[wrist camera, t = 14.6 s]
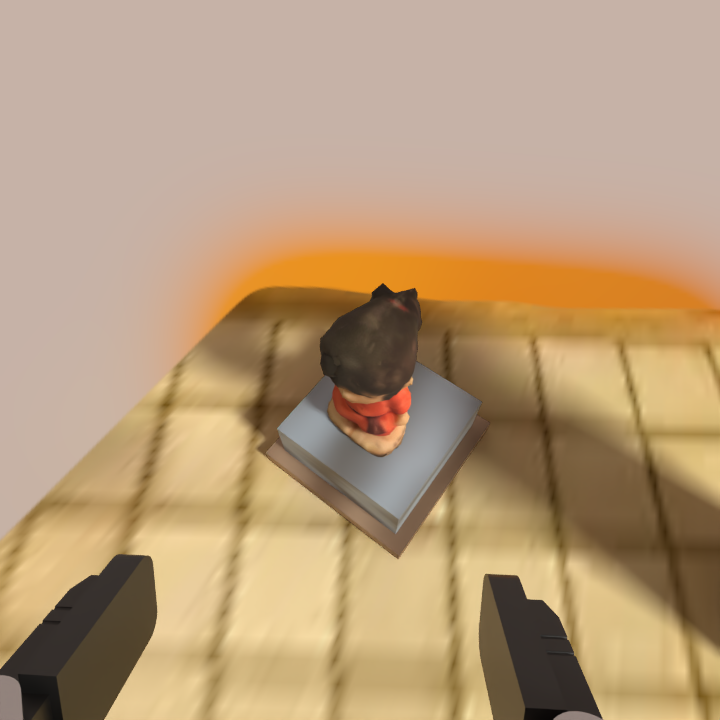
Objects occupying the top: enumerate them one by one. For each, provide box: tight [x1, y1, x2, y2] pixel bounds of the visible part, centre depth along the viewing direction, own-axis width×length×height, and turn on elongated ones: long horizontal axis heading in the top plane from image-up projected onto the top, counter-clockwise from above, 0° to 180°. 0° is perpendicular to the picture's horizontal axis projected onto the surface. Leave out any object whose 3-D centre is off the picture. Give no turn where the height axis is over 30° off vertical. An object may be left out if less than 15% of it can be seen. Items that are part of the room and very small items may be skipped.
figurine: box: [320, 284, 422, 457], centre depth 31 cm, size 6×6×12 cm
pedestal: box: [266, 361, 490, 559], centre depth 38 cm, size 12×12×5 cm
